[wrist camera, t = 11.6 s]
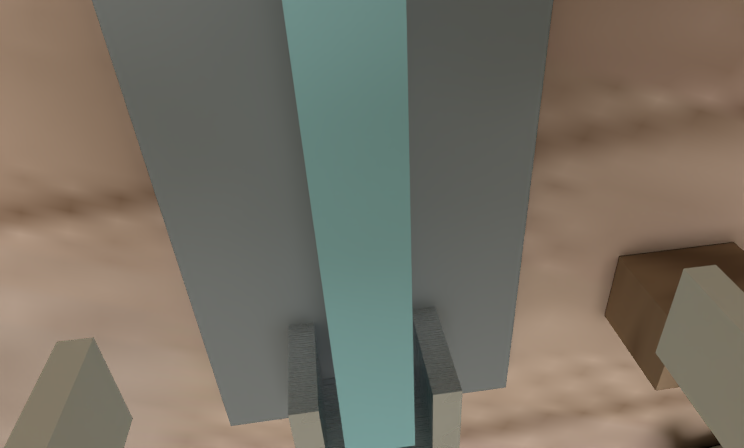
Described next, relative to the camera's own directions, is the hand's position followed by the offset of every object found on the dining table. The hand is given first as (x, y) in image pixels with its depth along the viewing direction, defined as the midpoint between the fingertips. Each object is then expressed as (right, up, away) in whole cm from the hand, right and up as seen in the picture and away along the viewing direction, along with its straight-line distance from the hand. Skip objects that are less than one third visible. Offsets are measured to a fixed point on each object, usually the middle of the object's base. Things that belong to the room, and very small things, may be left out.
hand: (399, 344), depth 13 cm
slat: (-2, +6, +8) cm, 10 cm away
